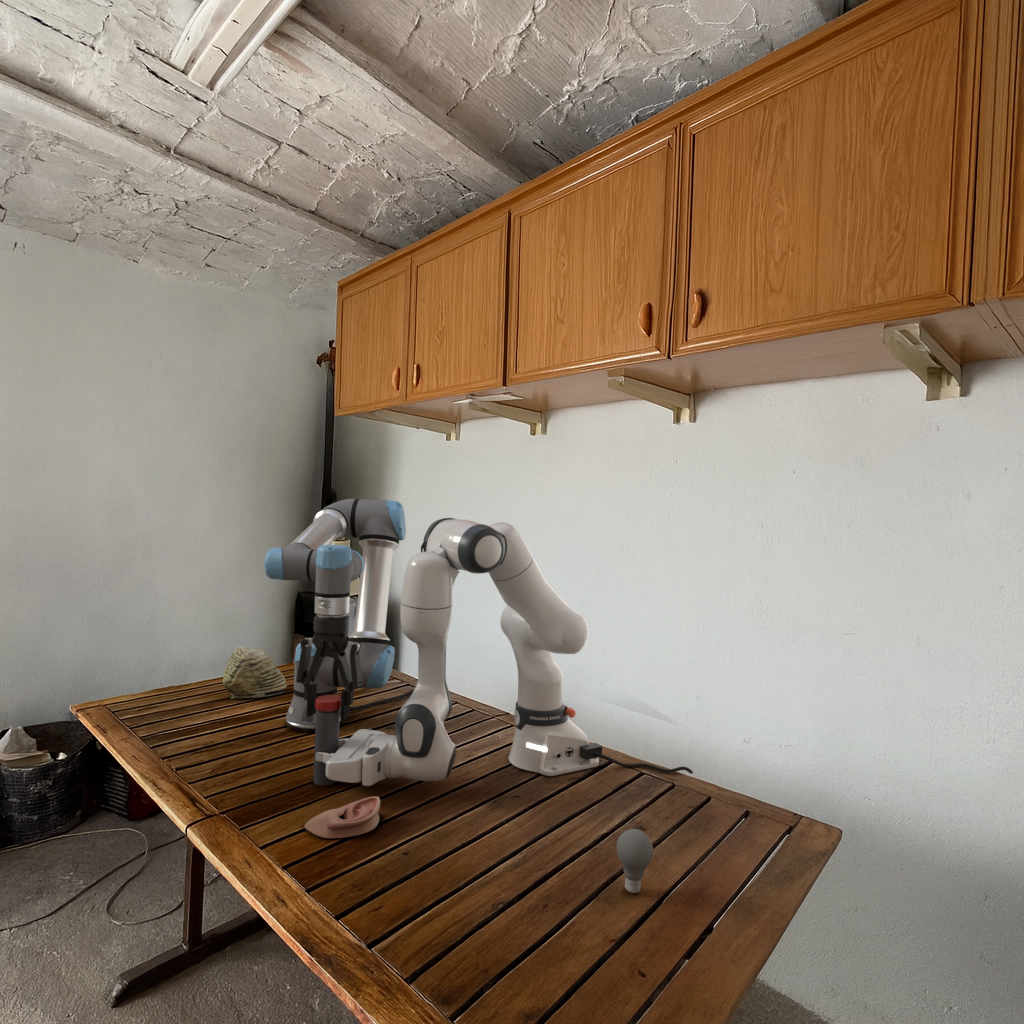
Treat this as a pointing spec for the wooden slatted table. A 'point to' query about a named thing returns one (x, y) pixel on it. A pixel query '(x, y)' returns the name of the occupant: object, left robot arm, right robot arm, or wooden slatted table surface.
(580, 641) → the right robot arm
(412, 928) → the wooden slatted table surface
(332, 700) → the lid
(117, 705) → the wooden slatted table surface
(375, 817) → the anatomical model
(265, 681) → the fossil
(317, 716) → the jar
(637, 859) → the light bulb
